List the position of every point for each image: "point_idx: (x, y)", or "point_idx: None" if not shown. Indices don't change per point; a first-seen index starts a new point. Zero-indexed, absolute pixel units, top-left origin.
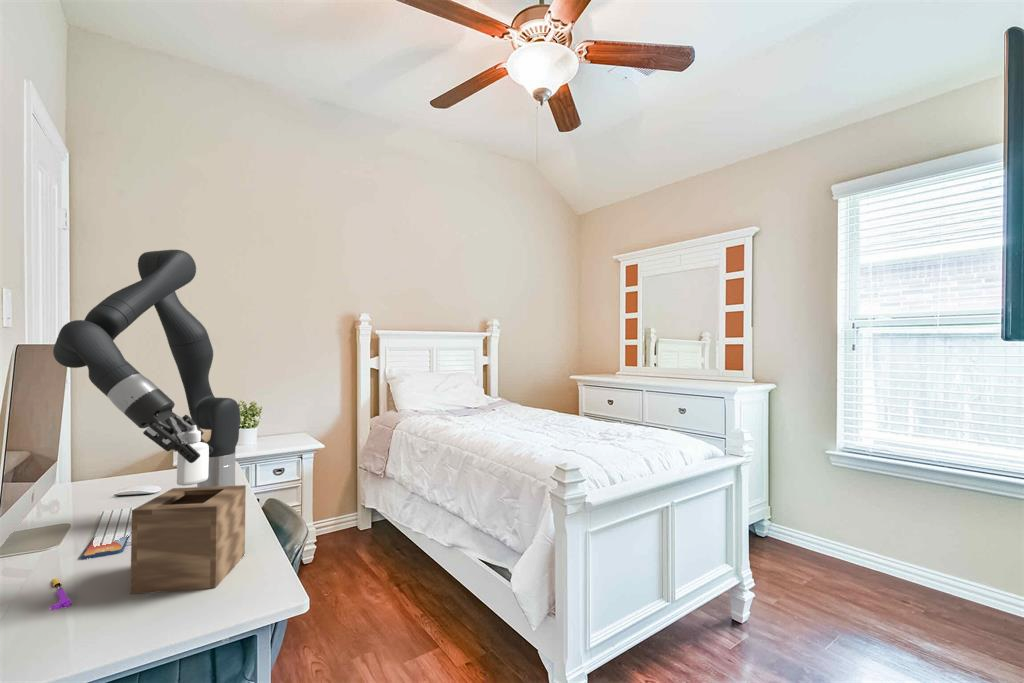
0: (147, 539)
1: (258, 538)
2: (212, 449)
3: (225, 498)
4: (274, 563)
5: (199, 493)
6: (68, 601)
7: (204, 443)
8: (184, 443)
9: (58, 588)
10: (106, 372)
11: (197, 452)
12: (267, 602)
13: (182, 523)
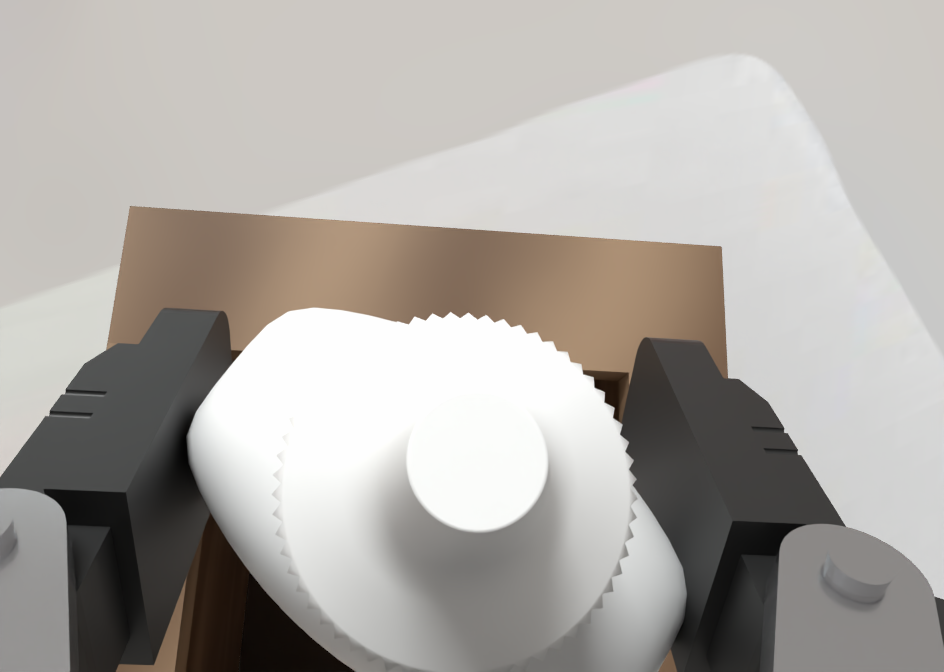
0: None
1: (5, 355)
2: (193, 309)
3: (526, 246)
4: (382, 200)
5: (196, 569)
6: None
7: (357, 338)
8: (858, 534)
9: None
10: None
11: (664, 363)
12: (732, 151)
13: None
